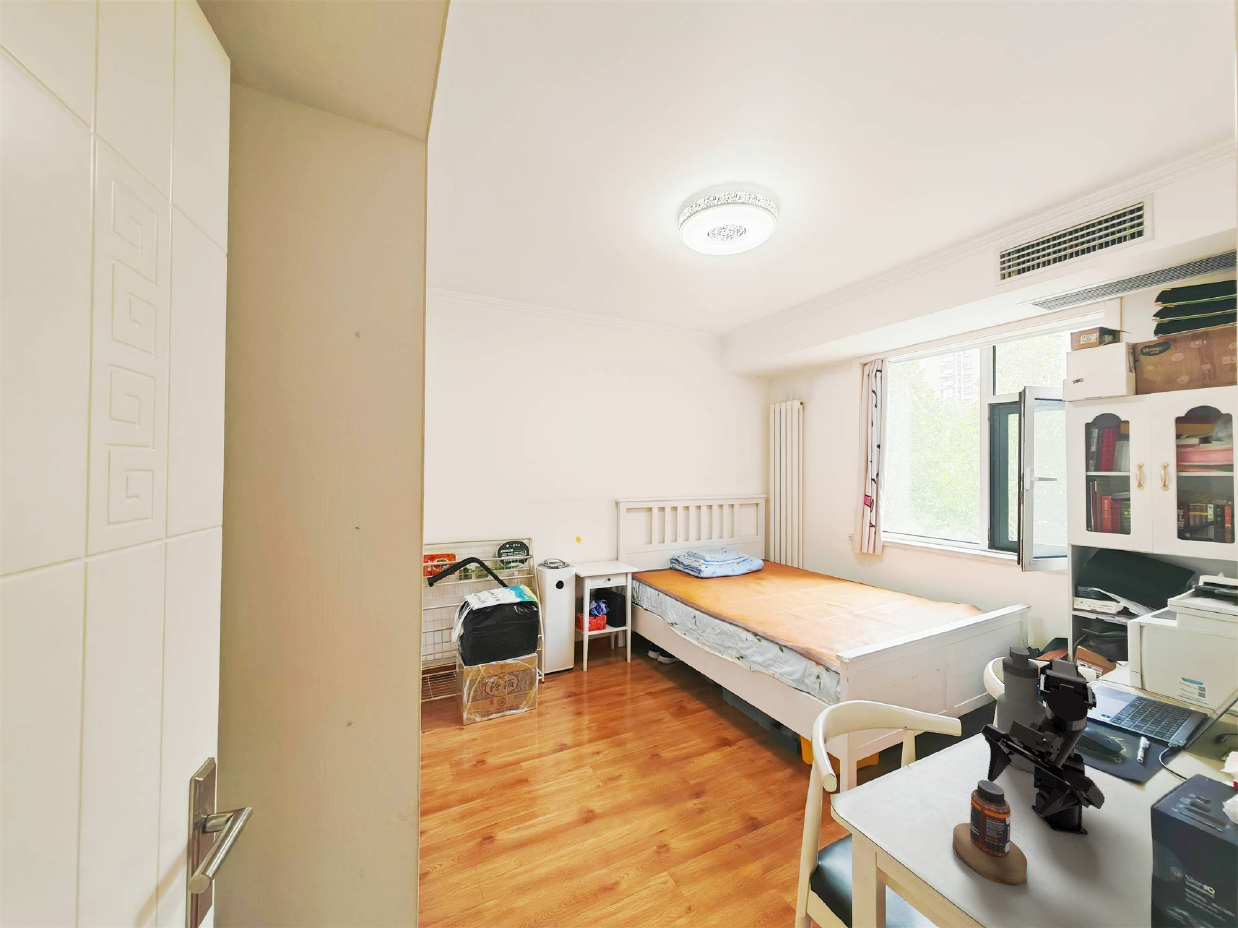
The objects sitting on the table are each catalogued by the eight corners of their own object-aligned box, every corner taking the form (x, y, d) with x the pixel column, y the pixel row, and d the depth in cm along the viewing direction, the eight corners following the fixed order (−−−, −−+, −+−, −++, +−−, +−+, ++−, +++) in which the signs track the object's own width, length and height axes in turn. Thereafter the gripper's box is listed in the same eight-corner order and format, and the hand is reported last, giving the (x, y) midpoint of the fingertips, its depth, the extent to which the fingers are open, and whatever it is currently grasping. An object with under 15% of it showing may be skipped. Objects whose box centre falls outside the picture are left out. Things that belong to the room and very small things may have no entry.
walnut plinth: (1001, 838, 93) (1001, 826, 93) (1042, 889, 82) (1043, 875, 82) (941, 831, 95) (941, 819, 95) (974, 879, 84) (974, 866, 84)
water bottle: (996, 745, 124) (993, 640, 125) (1045, 758, 118) (1042, 647, 119) (999, 764, 116) (996, 651, 116) (1052, 779, 110) (1048, 660, 111)
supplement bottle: (1018, 858, 86) (1020, 798, 85) (987, 858, 85) (989, 798, 85) (991, 832, 92) (993, 775, 91) (961, 832, 91) (963, 775, 91)
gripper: (988, 685, 100) (946, 743, 98) (1096, 737, 82) (1049, 809, 80) (1013, 716, 103) (973, 773, 100) (1124, 773, 85) (1079, 845, 82)
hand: (1013, 796), depth 90 cm, fingers open, 9 cm apart
